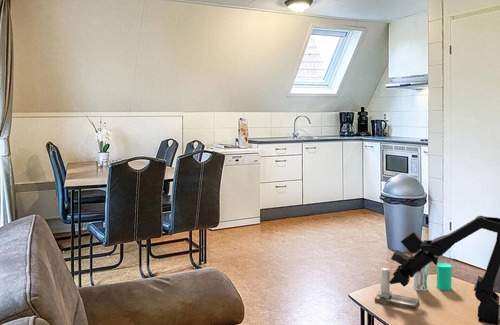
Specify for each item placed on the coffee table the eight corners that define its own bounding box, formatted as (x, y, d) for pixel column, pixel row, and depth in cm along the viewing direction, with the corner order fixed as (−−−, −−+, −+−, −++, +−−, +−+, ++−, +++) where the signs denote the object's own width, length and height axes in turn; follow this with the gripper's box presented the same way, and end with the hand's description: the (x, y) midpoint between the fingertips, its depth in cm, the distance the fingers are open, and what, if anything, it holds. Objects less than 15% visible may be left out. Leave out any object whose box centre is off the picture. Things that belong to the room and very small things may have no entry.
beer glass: (408, 286, 191) (409, 254, 190) (421, 284, 193) (422, 252, 192) (419, 292, 185) (419, 259, 183) (432, 290, 187) (432, 257, 185)
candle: (452, 290, 186) (453, 264, 184) (438, 290, 187) (438, 263, 186) (449, 285, 191) (450, 259, 190) (435, 284, 193) (435, 259, 191)
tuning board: (419, 302, 175) (419, 298, 175) (415, 310, 168) (415, 305, 168) (379, 294, 183) (379, 291, 183) (374, 301, 177) (374, 297, 177)
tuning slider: (391, 294, 179) (391, 268, 178) (387, 299, 174) (387, 273, 173) (381, 292, 181) (382, 266, 180) (377, 297, 176) (377, 271, 175)
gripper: (408, 239, 180) (382, 260, 187) (398, 251, 164) (370, 274, 171) (428, 260, 177) (400, 281, 183) (420, 275, 161) (390, 297, 168)
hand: (390, 283), depth 177 cm, fingers closed, pressing on tuning slider
